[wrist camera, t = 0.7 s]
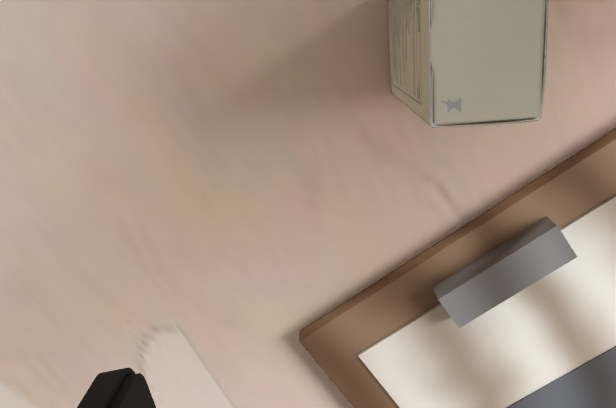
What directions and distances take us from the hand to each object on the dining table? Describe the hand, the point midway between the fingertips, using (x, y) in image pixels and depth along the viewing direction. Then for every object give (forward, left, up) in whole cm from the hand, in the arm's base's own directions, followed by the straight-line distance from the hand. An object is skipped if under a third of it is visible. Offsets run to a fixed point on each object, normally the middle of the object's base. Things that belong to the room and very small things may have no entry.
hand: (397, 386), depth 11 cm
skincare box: (-7, -2, -25) cm, 26 cm away
